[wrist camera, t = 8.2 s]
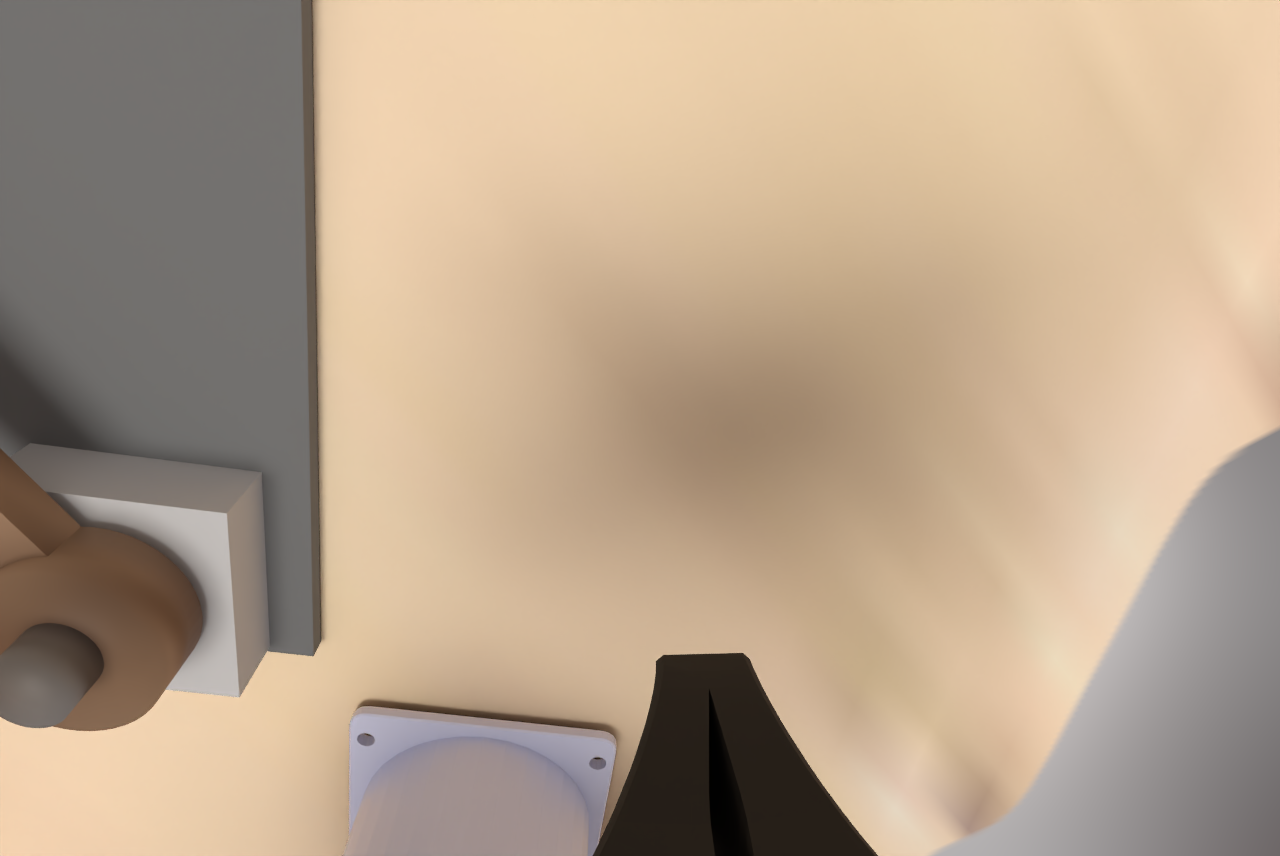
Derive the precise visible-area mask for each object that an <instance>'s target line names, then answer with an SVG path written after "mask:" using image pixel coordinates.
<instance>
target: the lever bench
mask: <svg viewBox="0 0 1280 856" xmlns="http://www.w3.org/2000/svg"><path fill="white" fill-rule="evenodd" d="M0 448H1V449H2V450H3V451H4V452H5V453H6V454H7V455H8V456H9V457H10V458H11V459H12V460H13V461H14V462H15V463H16V464H17V465H18V466H19V467H20V468H21V469H22V470H23V471H24V472H25V473H26V474H27V475H28V476H29V477H31V478H32V479H33V480H34V481H35V482H36V483H37V484H38V485H39V486H40V487H41V488H42V489H43V490H44V491H45V492H46V493H47V494H48V495H49V496H50V497H51V498H52V499H53V500H54V501H55V502H56V503H57V504H58V505H59V506H60V507H61V508H62V509H63V510H65V511H66V512H67V513H68V514H69V515H70V516H71V517H72V518H73V519H74V520H75V521H76V522H77V523H78V524H79V525H80V526H81V527H96V528H103V529H109V530H112V531H116V532H120V533H123V534H126V535H129V536H131V537H134V538H136V539H138V540H140V541H142V542H145V543H146V544H148V545H150V546H151V547H153V548H155V549H157V550H158V551H159V552H161V553H162V554H163V555H165V556H166V557H168V558H169V559H170V560H171V561H172V562H173V563H174V564H175V565H176V566H177V567H178V568H179V569H180V570H181V571H182V572H183V573H184V574H185V576H186V577H187V579H188V580H189V581H190V583H191V584H192V586H193V588H194V590H195V592H196V594H197V596H198V599H199V601H200V604H201V609H202V615H203V625H202V632H201V636H200V639H199V641H198V643H197V645H196V647H195V649H194V650H193V651H192V653H191V654H190V656H189V657H188V658H187V660H186V661H185V663H184V664H183V665H182V667H181V668H180V670H179V671H178V672H177V674H176V675H175V677H174V678H173V680H172V681H171V682H170V684H169V685H168V687H167V688H166V689H165V690H175V691H184V692H194V693H203V694H213V695H222V696H232V697H240V696H241V694H242V692H243V691H244V689H245V687H246V686H247V684H248V682H249V680H250V679H251V677H252V675H253V674H254V672H255V670H256V669H257V667H258V665H259V663H260V662H261V660H262V658H263V657H264V655H265V653H266V652H267V651H270V652H279V653H288V654H297V655H307V656H314V654H315V652H316V650H317V648H318V646H319V644H320V642H321V635H320V563H319V491H318V420H317V348H316V276H315V204H314V133H313V61H312V0H0Z"/></svg>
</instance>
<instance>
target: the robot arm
mask: <svg viewBox="0 0 1280 856" xmlns="http://www.w3.org/2000/svg"><path fill="white" fill-rule="evenodd" d="M363 733H367V734H371V735H372V736H367V735H365V734H363ZM615 755H616V739H615V738H614V736H613V735H612V734H610V733H609V732H605V731H600V730H591V729H582V728H572V727H563V726H553V725H544V724H534V723H525V722H515V721H506V720H497V719H487V718H478V717H468V716H459V715H449V714H440V713H430V712H421V711H412V710H402V709H393V708H383V707H374V706H363V707H360V708H358V709H357V710H356V711H355V712H354V713H353V716H352V718H351V721H350V726H349V838H348V841H347V844H346V846H345V849H344V852H343V855H342V856H878V855H877V854H876V853H875V852H874V850H873V849H872V848H871V847H870V846H869V844H868V843H867V842H866V841H865V840H864V839H863V837H862V836H861V835H860V834H859V832H858V831H857V830H856V829H855V827H854V826H853V825H852V824H851V822H850V821H849V820H848V818H847V817H846V816H845V814H844V813H843V812H842V811H841V809H840V808H839V807H838V805H837V804H836V802H835V801H834V800H833V798H832V797H831V796H830V794H829V793H828V792H827V790H826V789H825V787H824V786H823V785H822V783H821V782H820V780H819V779H818V778H817V776H816V775H815V773H814V772H813V770H812V769H811V767H810V766H809V764H808V763H807V761H806V760H805V758H804V757H803V755H802V754H801V752H800V750H799V749H798V747H797V746H796V744H795V743H794V741H793V740H792V738H791V736H790V735H789V733H788V732H787V730H786V728H785V727H784V725H783V723H782V722H781V720H780V718H779V716H778V715H777V713H776V711H775V709H774V708H773V706H772V704H771V702H770V701H769V699H768V697H767V695H766V693H765V691H764V689H763V687H762V685H761V683H760V681H759V679H758V677H757V675H756V673H755V671H754V668H753V666H752V664H751V661H750V659H749V658H748V657H747V656H746V655H744V654H743V653H727V654H687V655H663V656H662V657H661V658H659V659H658V660H657V661H656V677H655V684H654V690H653V695H652V700H651V704H650V708H649V712H648V716H647V720H646V724H645V727H644V730H643V733H642V736H641V740H640V743H639V746H638V749H637V752H636V755H635V758H634V761H633V764H632V767H631V769H630V772H629V774H628V777H627V779H626V782H625V784H624V787H623V789H622V792H621V794H620V797H619V799H618V802H617V804H616V807H615V809H614V811H613V814H612V816H611V818H610V820H609V823H608V825H607V827H606V829H605V831H604V834H603V836H602V838H601V840H600V842H599V839H600V834H601V829H602V823H603V818H604V813H605V808H606V802H607V797H608V792H609V787H610V782H611V776H612V771H613V766H614V761H615ZM595 757H600V758H603V759H599V760H597V759H593V758H595Z"/></svg>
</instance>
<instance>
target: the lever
mask: <svg viewBox="0 0 1280 856" xmlns="http://www.w3.org/2000/svg"><path fill="white" fill-rule="evenodd" d="M202 625H203V615H202V609H201V604H200V601H199V599H198V596H197V594H196V592H195V590H194V588H193V586H192V584H191V583H190V581H189V580H188V579H187V577H186V576H185V574H184V573H183V572H182V571H181V570H180V569H179V568H178V567H177V566H176V565H175V564H174V563H173V562H172V561H171V560H170V559H169V558H168V557H166V556H165V555H163V554H162V553H161V552H159V551H158V550H157V549H155V548H153V547H151V546H150V545H148V544H146V543H145V542H142V541H140V540H138V539H136V538H134V537H131V536H129V535H126V534H123V533H120V532H116V531H112V530H109V529H103V528H96V527H81V526H80V525H79V524H78V523H77V522H76V521H75V520H74V519H73V518H72V517H71V516H70V515H69V514H68V513H67V512H66V511H65V510H63V509H62V508H61V507H60V506H59V505H58V504H57V503H56V502H55V501H54V500H53V499H52V498H51V497H50V496H49V495H48V494H47V493H46V492H45V491H44V490H43V489H42V488H41V487H40V486H39V485H38V484H37V483H36V482H35V481H34V480H33V479H32V478H31V477H29V476H28V475H27V474H26V473H25V472H24V471H23V470H22V469H21V468H20V467H19V466H18V465H17V464H16V463H15V462H14V461H13V460H12V459H11V458H10V457H9V456H8V455H7V454H6V453H5V452H4V451H3V450H2V449H1V448H0V717H2V718H4V719H5V720H7V721H9V722H12V723H14V724H17V725H20V726H24V727H30V728H46V727H51V726H54V727H58V728H63V729H70V730H77V731H98V730H107V729H113V728H117V727H120V726H124V725H126V724H129V723H131V722H133V721H135V720H137V719H138V718H140V717H142V716H143V715H144V714H146V713H147V712H148V711H149V710H150V709H151V708H152V707H153V706H154V704H155V703H156V702H157V701H158V699H159V698H160V696H161V695H162V694H163V692H164V691H165V689H166V688H167V687H168V685H169V684H170V682H171V681H172V680H173V678H174V677H175V675H176V674H177V672H178V671H179V670H180V668H181V667H182V665H183V664H184V663H185V661H186V660H187V658H188V657H189V656H190V654H191V653H192V651H193V650H194V649H195V647H196V645H197V643H198V641H199V639H200V636H201V632H202Z"/></svg>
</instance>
